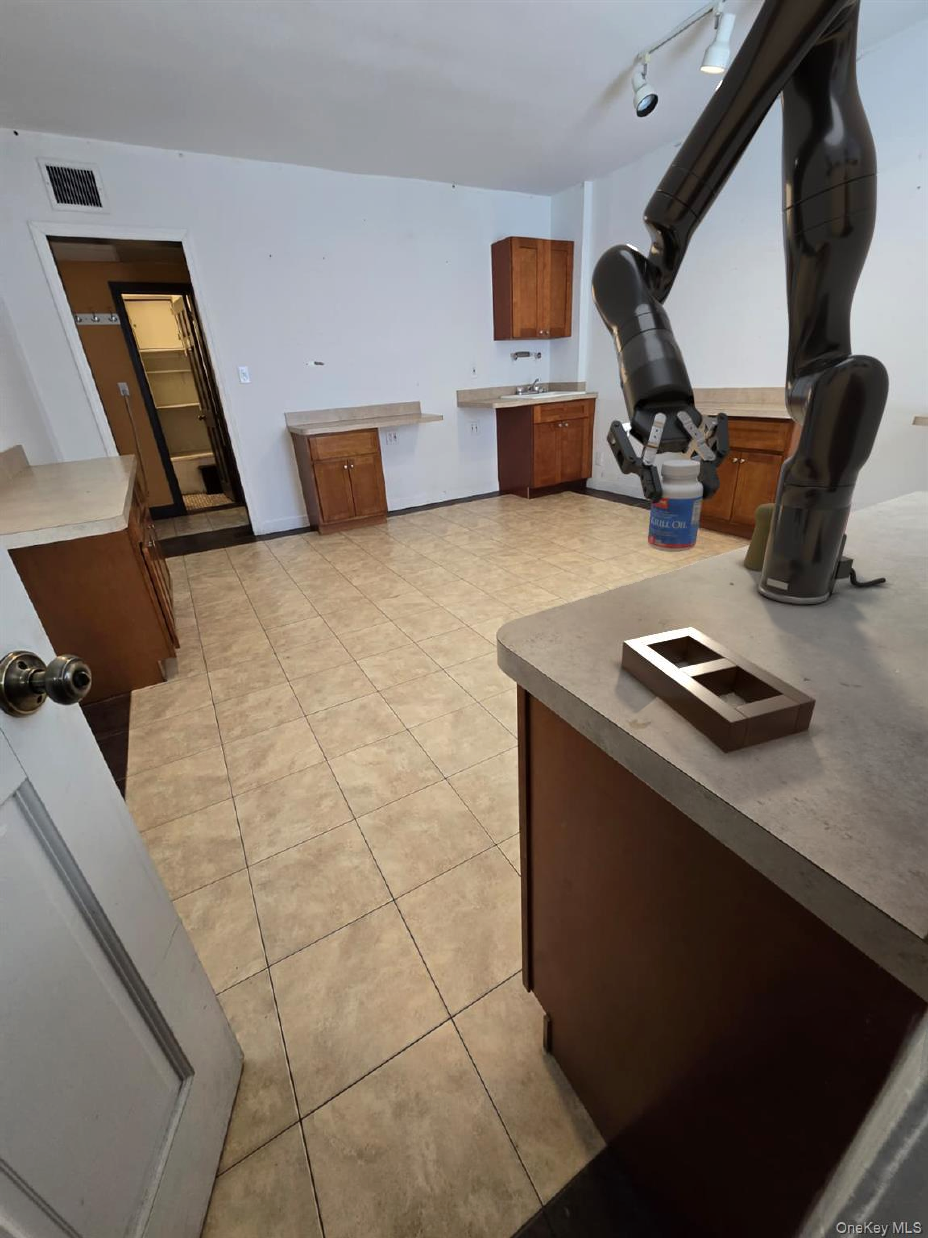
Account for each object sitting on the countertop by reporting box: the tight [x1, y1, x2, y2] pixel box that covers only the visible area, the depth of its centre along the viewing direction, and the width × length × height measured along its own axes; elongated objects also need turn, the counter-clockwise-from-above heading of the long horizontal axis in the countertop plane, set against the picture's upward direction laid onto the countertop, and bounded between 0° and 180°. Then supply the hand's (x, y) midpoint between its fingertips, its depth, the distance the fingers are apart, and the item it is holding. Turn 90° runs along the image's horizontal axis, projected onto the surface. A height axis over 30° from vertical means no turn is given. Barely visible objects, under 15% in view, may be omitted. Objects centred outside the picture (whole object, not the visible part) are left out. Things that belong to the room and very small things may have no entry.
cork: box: [742, 502, 775, 572], centre depth 90 cm, size 6×6×11 cm
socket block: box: [621, 626, 817, 754], centre depth 56 cm, size 10×18×4 cm, turn 17°
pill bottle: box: [647, 459, 703, 553], centre depth 59 cm, size 6×5×10 cm
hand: (683, 497), depth 57 cm, fingers closed on pill bottle, 5 cm apart
